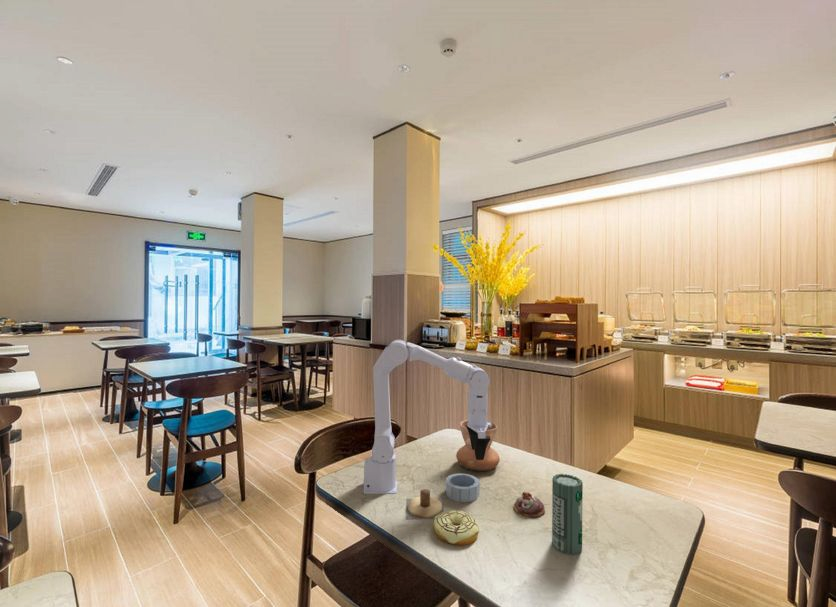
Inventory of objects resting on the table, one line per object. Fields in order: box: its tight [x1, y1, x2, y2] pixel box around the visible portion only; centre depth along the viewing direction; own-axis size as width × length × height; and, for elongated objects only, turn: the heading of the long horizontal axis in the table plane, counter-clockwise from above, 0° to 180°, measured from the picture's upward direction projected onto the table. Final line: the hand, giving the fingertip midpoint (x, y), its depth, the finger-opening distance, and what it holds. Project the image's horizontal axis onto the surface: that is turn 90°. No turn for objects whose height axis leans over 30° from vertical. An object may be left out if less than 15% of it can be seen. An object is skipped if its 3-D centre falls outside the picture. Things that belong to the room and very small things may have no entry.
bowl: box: [445, 473, 480, 503], centre depth 110 cm, size 9×9×4 cm
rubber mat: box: [405, 498, 445, 520], centre depth 102 cm, size 10×10×1 cm
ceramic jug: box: [455, 419, 500, 472], centre depth 130 cm, size 18×14×14 cm
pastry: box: [513, 491, 546, 518], centre depth 102 cm, size 8×8×5 cm
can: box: [551, 473, 584, 556], centre depth 87 cm, size 6×6×15 cm
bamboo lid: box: [408, 488, 442, 518], centre depth 102 cm, size 9×9×4 cm
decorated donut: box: [432, 509, 480, 546], centre depth 91 cm, size 10×11×4 cm
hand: (477, 454), depth 114 cm, fingers open, 7 cm apart
